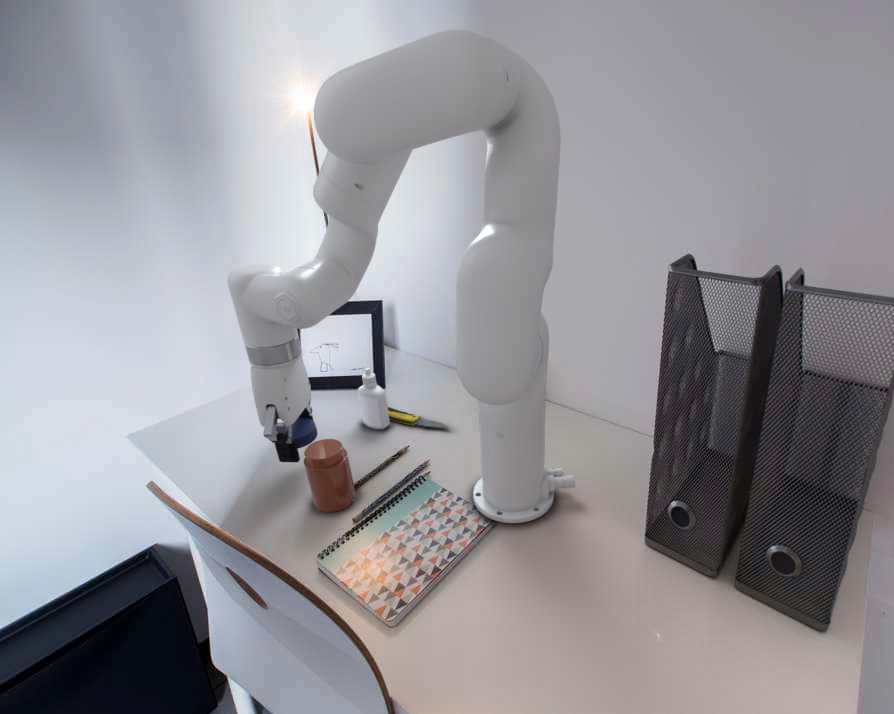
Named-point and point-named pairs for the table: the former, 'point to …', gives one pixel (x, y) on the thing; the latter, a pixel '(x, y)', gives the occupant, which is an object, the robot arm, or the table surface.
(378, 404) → the eye dropper bottle
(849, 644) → the table surface
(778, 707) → the table surface
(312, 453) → the jar
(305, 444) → the jar lid
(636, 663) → the table surface
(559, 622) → the table surface
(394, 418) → the utility knife
